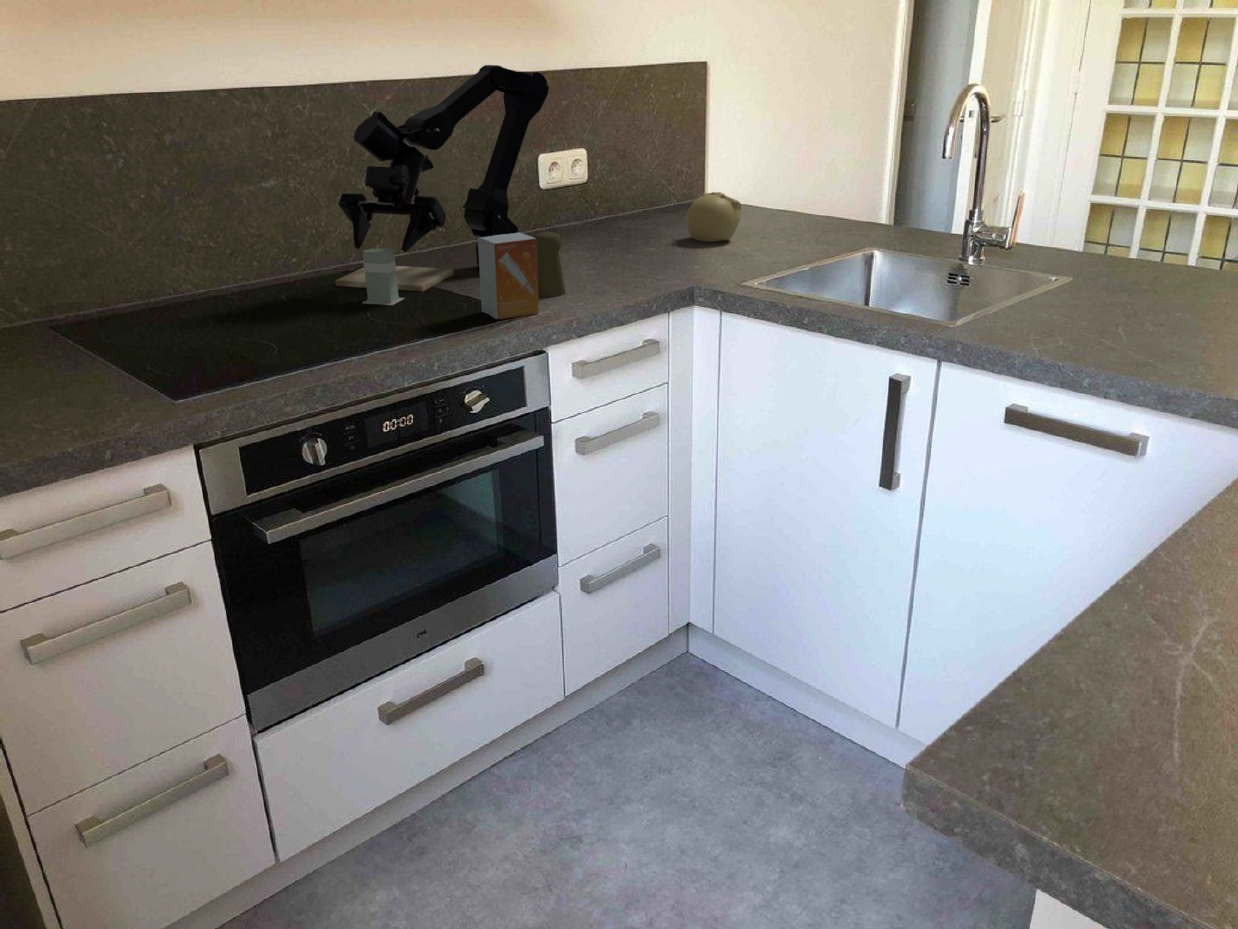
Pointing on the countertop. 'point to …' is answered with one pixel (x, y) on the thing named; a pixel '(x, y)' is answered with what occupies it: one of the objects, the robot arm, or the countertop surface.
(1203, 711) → the countertop surface
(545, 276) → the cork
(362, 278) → the oak board
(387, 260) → the carton
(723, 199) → the green persimmon
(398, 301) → the white flat rectangular tile
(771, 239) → the countertop surface
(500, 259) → the small box
